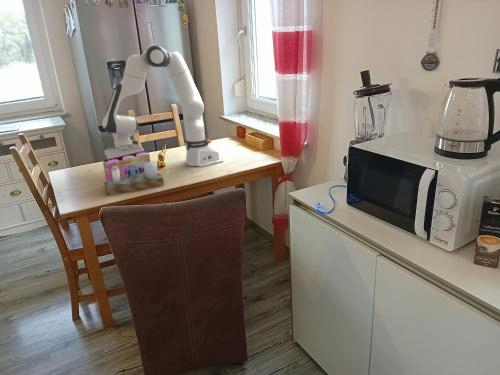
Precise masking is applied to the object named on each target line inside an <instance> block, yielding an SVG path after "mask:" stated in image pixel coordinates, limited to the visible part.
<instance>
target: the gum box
mask: <svg viewBox="0 0 500 375" xmlns="http://www.w3.org/2000/svg"><path fill="white" fill-rule="evenodd" d="M147 162H151V157H150V153H149V152H146V151H145V150H144V151H141V152H136V153H132V154H128V155H124V156H119V157H115V158H111V159H107V158H106V159H102V165H103V170H104V175H105V179H106V181H105V182H110V181H113V177H112V171H111V169H112V167H113V166H117V167H118V168H119V172H120V178H121V180H122V179H127V178H133V177H139V176H145V172H144V165H143V164H144V163H147Z"/></svg>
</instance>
